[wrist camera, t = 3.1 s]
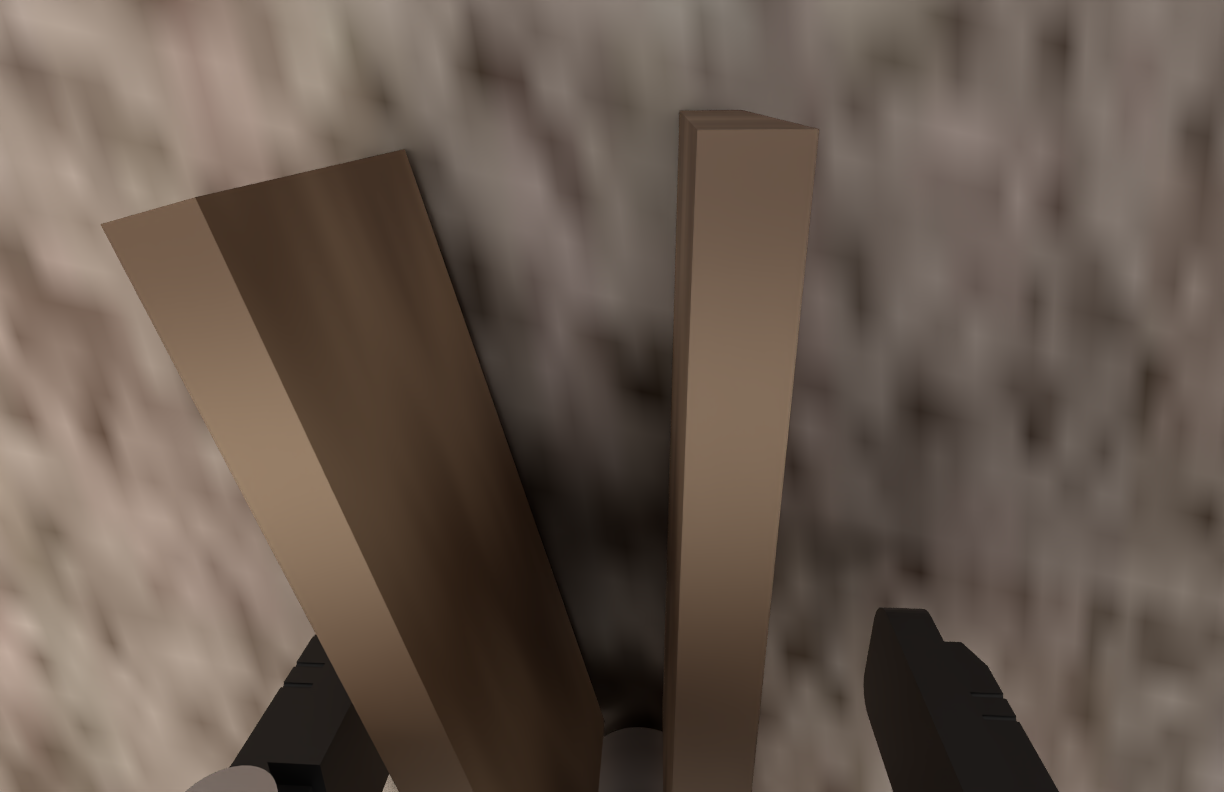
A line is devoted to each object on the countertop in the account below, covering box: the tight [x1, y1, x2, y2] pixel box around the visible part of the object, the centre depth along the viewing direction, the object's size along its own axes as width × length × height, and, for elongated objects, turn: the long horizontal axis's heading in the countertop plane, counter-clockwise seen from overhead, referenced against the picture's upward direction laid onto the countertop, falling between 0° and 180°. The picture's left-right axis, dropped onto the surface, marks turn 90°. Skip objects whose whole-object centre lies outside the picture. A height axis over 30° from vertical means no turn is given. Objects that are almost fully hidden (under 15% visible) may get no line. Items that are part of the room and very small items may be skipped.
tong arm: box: [101, 149, 663, 792], centre depth 12 cm, size 16×3×6 cm, turn 14°
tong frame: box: [663, 110, 819, 792], centre depth 12 cm, size 20×4×7 cm, turn 0°
